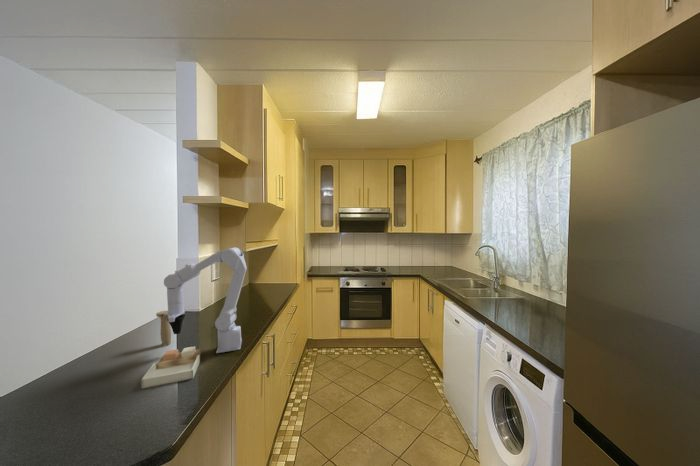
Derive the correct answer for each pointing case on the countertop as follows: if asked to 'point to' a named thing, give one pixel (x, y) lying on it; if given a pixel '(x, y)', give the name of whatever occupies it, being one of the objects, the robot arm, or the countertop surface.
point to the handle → (164, 328)
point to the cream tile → (188, 351)
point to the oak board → (178, 360)
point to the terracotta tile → (170, 354)
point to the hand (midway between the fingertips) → (177, 333)
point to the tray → (169, 374)
